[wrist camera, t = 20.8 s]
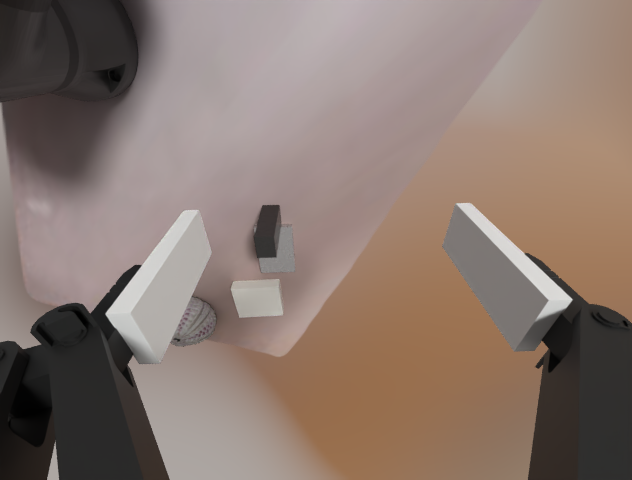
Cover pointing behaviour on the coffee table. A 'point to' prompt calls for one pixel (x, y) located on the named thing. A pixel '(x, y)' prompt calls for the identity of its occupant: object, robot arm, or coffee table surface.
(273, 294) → the tile
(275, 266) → the grey l-shaped block
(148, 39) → the coffee table surface
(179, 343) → the sea urchin shell
